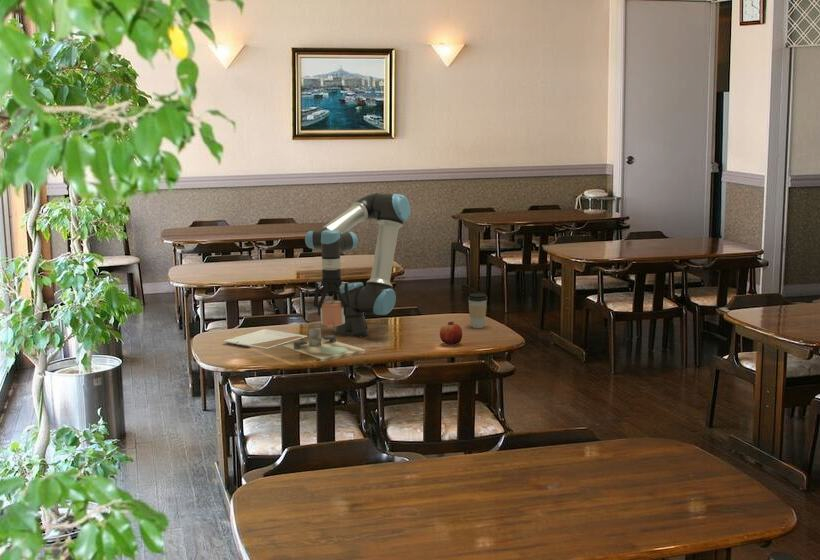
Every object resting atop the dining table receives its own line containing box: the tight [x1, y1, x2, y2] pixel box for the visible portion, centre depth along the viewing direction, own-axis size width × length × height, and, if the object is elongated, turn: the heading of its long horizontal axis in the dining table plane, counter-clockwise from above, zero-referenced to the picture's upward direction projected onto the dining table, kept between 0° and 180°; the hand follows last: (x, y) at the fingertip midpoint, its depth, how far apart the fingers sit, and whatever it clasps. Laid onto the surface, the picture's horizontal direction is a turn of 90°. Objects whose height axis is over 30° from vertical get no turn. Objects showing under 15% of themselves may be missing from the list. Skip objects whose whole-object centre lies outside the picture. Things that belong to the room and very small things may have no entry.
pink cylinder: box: [321, 299, 343, 329], centre depth 402 cm, size 14×8×9 cm, turn 174°
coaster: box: [321, 347, 347, 355], centre depth 405 cm, size 11×11×1 cm
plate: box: [223, 328, 309, 350], centre depth 429 cm, size 26×26×2 cm
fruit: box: [439, 321, 463, 346], centre depth 417 cm, size 11×10×10 cm
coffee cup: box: [467, 292, 489, 329], centre depth 449 cm, size 9×9×15 cm
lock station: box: [282, 327, 367, 363], centre depth 411 cm, size 22×30×8 cm
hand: (332, 323), depth 403 cm, fingers closed on pink cylinder, 8 cm apart
